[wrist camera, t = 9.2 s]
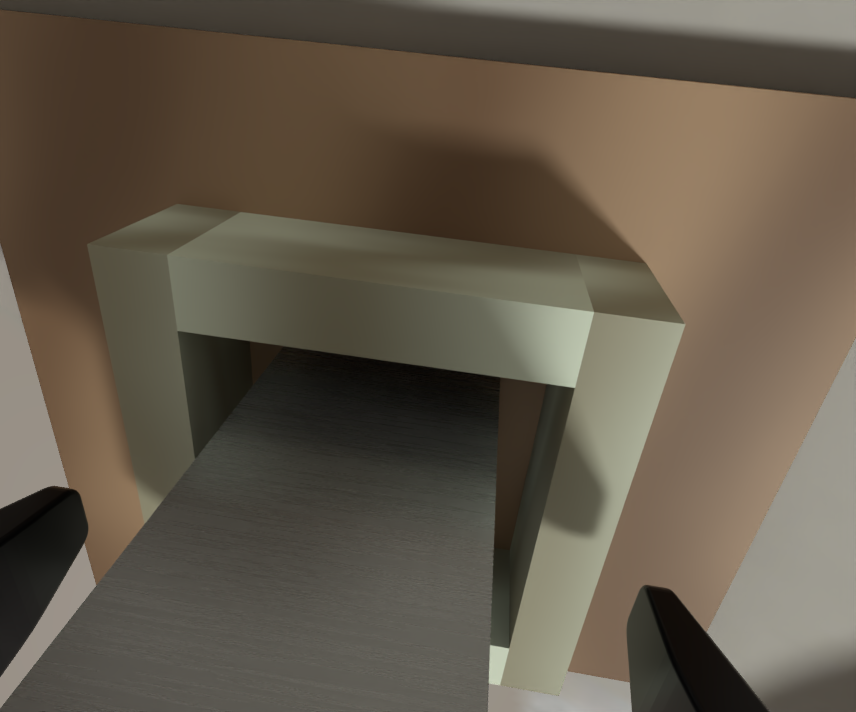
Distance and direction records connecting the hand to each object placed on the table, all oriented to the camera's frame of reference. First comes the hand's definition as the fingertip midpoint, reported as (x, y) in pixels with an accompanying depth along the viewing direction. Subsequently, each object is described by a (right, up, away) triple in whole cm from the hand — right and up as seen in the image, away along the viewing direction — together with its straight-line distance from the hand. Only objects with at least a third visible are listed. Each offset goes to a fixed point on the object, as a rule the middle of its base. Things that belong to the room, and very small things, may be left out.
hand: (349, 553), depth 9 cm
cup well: (+1, +2, +4) cm, 4 cm away
